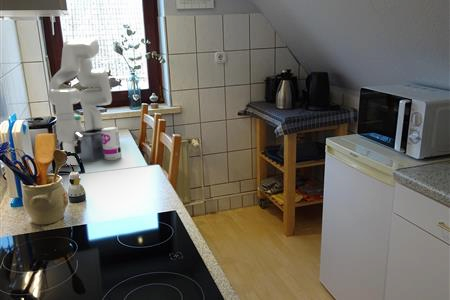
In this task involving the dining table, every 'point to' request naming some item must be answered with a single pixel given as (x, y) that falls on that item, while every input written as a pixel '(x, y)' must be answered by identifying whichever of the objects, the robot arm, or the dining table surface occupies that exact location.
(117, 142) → the supplement can
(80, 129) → the milk bottle
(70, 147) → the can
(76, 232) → the dining table surface
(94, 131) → the box
